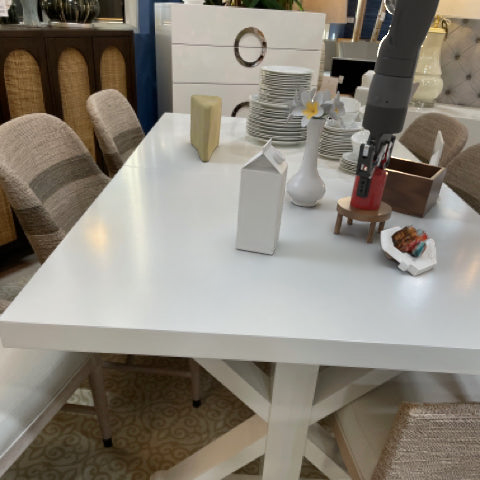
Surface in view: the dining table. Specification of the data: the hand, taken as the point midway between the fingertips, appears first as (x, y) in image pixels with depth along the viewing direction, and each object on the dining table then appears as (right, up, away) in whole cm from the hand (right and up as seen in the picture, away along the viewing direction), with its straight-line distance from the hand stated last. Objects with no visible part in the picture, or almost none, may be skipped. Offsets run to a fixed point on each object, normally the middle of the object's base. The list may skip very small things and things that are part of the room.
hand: (367, 192), depth 95 cm
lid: (+10, +21, +16) cm, 28 cm away
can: (0, -2, +1) cm, 3 cm away
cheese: (-37, +26, +51) cm, 68 cm away
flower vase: (-11, +3, +19) cm, 22 cm away
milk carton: (-22, -11, -4) cm, 25 cm away
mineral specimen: (+6, -15, -5) cm, 16 cm away
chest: (+13, +4, +23) cm, 27 cm away
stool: (-1, -7, +5) cm, 9 cm away
